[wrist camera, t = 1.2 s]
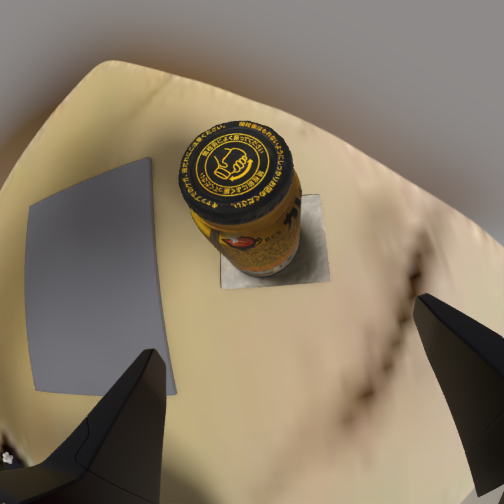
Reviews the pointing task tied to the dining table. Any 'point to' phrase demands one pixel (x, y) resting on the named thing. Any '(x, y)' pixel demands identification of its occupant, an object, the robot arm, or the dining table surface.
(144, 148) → the dining table surface
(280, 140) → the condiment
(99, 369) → the rubber mat
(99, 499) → the robot arm
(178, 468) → the dining table surface
